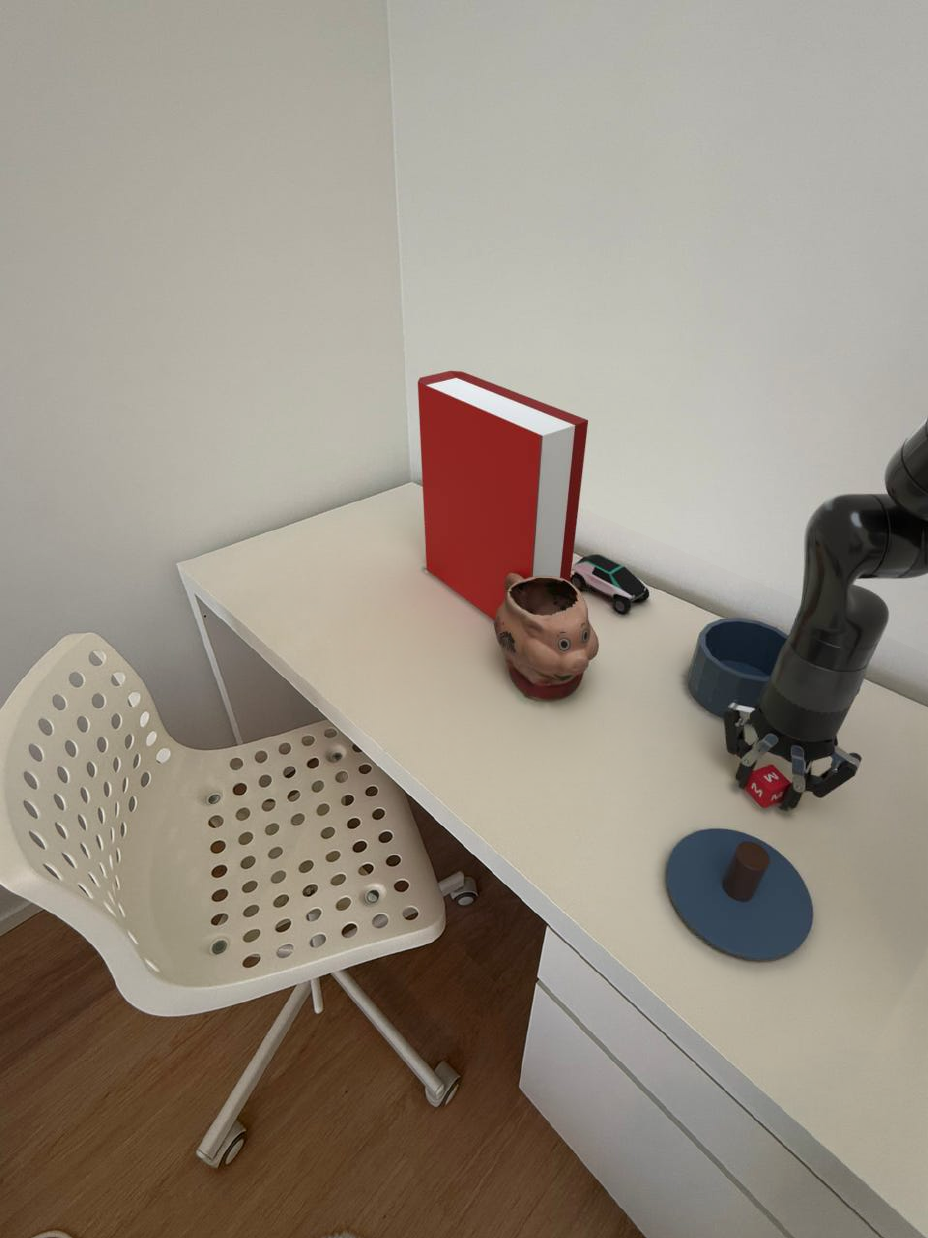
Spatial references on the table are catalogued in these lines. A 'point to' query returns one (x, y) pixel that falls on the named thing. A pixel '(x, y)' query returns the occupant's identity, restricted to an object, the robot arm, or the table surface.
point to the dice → (767, 785)
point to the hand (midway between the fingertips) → (764, 793)
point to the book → (496, 485)
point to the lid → (739, 894)
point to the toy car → (609, 581)
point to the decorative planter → (545, 635)
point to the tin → (733, 663)
